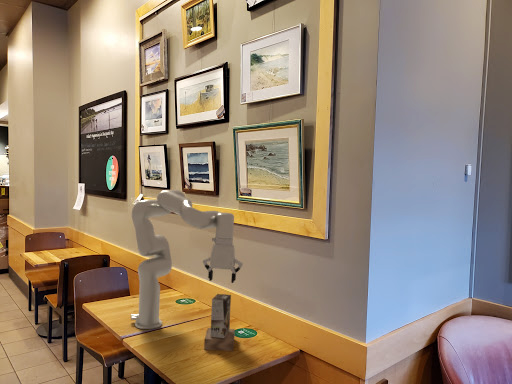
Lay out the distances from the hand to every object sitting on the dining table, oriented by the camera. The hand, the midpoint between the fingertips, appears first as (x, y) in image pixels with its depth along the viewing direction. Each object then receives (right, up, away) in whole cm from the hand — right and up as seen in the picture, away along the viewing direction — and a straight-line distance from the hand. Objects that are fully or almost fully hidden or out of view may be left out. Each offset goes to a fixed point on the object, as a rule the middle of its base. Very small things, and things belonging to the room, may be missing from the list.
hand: (221, 281), depth 167 cm
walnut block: (-1, -28, +1) cm, 28 cm away
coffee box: (-1, -23, 0) cm, 23 cm away
